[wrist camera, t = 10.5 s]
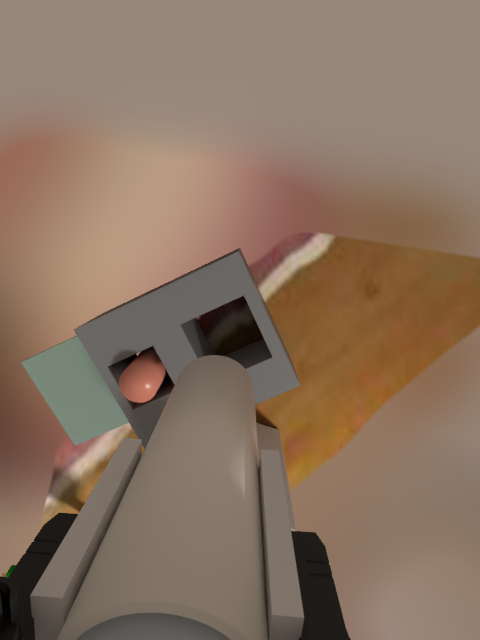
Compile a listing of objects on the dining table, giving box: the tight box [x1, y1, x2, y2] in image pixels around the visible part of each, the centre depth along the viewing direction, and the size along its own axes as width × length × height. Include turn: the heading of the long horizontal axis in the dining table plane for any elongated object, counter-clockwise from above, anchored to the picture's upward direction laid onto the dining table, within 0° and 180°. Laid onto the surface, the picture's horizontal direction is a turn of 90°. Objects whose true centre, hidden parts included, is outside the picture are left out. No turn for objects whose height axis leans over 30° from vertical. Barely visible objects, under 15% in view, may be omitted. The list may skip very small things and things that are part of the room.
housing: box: [74, 248, 300, 448], centre depth 37 cm, size 14×17×7 cm
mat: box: [21, 336, 129, 445], centre depth 42 cm, size 12×9×1 cm
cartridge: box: [57, 355, 268, 640], centre depth 15 cm, size 5×5×16 cm
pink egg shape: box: [119, 346, 168, 403], centre depth 36 cm, size 4×4×8 cm
